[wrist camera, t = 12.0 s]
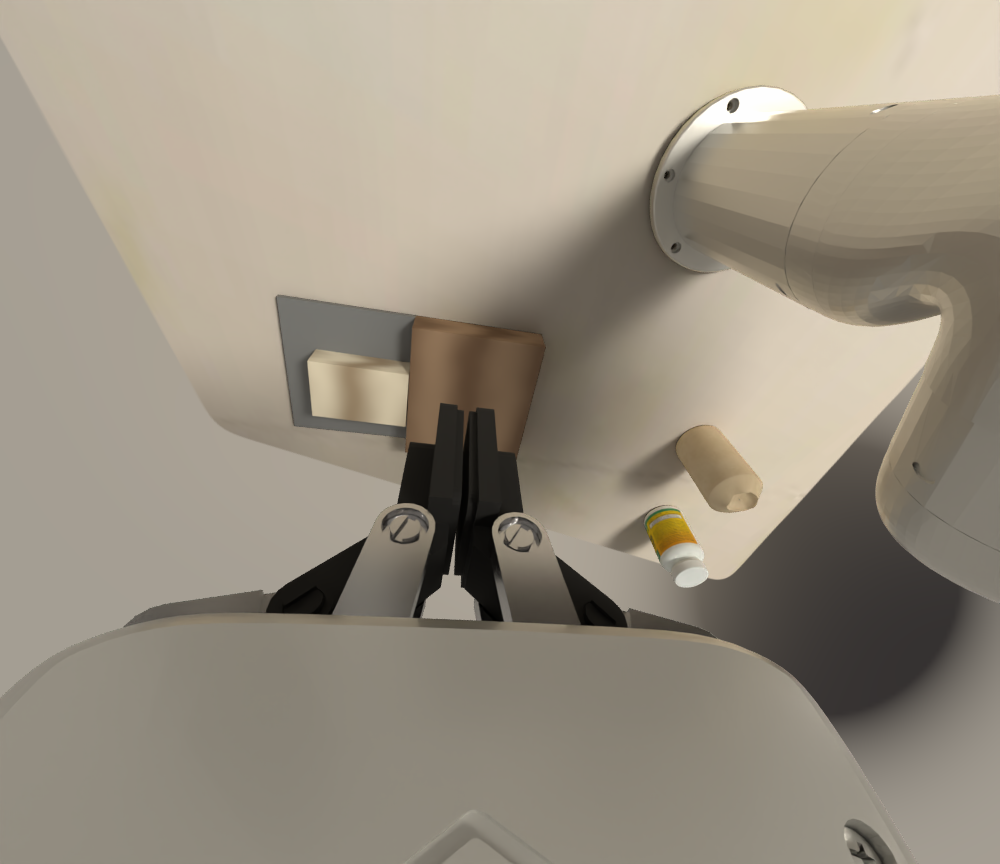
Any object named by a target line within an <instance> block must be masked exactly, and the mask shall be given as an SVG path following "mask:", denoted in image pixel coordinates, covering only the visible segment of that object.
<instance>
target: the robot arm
mask: <svg viewBox="0 0 1000 864" xmlns="http://www.w3.org/2000/svg"><path fill="white" fill-rule="evenodd" d="M728 102H729V103H730V107H729V109H728V110H727V104H728ZM666 171H667V172H668V176H667V177H666V178H665V179H664V174H665V172H666ZM650 220H651V227H652V230H653V233H654V236H655V239H656V241H657V243H658V244H659V246H660V248H661V249H662V251H663V252H664V253H665V254H666V255H667V256H668V257H669V258H670V259H671V260H673V261H674V262H676V263H677V264H679V265H680V266H683V267H685V268H687V269H689V270H693V271H698V272H703V273H704V272H720V271H724V270H729V269H733V270H735V271H737V272H739V273H741V274H743V275H745V276H747V277H749V278H751V279H753V280H755V281H757V282H758V283H760V284H762V285H764V286H766V287H768V288H770V289H772V290H774V291H776V292H778V293H780V294H782V295H784V296H786V297H787V298H789V299H791V300H793V301H795V302H797V303H799V304H801V305H803V306H805V307H807V308H809V309H812V310H814V311H816V312H818V313H820V314H822V315H823V316H826V317H828V318H831V319H833V320H836V321H838V322H842V323H846V324H850V325H856V326H871V327H879V326H890V325H897V324H903V323H909V322H914V321H918V320H922V319H926V318H929V317H933V316H937V315H940V314H941V324H940V328H939V333H938V336H937V338H936V341H935V343H934V345H933V348H932V350H931V352H930V355H929V357H928V359H927V361H926V364H925V366H924V372H923V374H922V376H921V378H920V381H919V383H918V385H917V387H916V389H915V391H914V393H913V396H912V398H911V400H910V402H909V404H908V406H907V408H906V410H905V413H904V415H903V417H902V419H901V421H900V423H899V425H898V427H897V429H896V432H895V434H894V436H893V438H892V440H891V443H890V446H889V448H888V451H887V453H886V455H885V457H884V459H883V462H882V465H881V468H880V470H879V474H878V477H877V482H876V503H877V508H878V511H879V514H880V517H881V519H882V521H883V523H884V524H885V526H886V527H887V529H888V530H889V532H890V533H891V534H892V536H893V537H894V538H895V539H896V541H898V543H899V544H900V545H901V546H902V547H904V548H905V549H906V550H907V551H908V552H909V553H910V554H912V555H913V556H914V557H915V558H917V559H918V560H919V561H920V562H922V563H923V564H925V565H926V566H927V567H929V568H931V569H932V570H934V571H935V572H937V573H939V574H940V575H942V576H943V577H945V578H947V579H949V580H950V581H952V582H954V583H956V584H958V585H960V586H962V587H964V588H966V589H968V590H970V591H972V592H974V593H976V594H978V595H981V596H983V597H985V598H987V599H990V600H992V601H994V602H997V603H999V604H1000V94H999V95H990V96H978V97H965V98H952V99H940V100H927V101H913V102H900V103H887V104H873V105H860V106H846V107H833V108H820V109H807V107H806V105H805V104H804V103H803V102H802V101H801V100H800V99H799V98H798V97H796V96H795V95H794V94H793V93H791V92H789V91H786V90H784V89H782V88H779V87H773V86H765V85H760V86H752V87H746V88H742V89H738V90H734V91H730V92H728V93H726V94H724V95H722V96H720V97H718V98H716V99H714V100H712V101H711V102H710V103H708V104H707V105H705V106H704V107H703V108H701V109H700V110H698V111H697V112H696V113H695V114H694V115H693V116H692V117H691V118H690V119H689V120H688V121H687V122H686V123H685V124H684V125H683V126H682V128H681V129H680V130H679V131H678V133H677V134H676V135H675V137H674V138H673V139H672V141H671V142H670V144H669V146H668V148H667V149H666V151H665V153H664V155H663V157H662V158H661V161H660V163H659V166H658V169H657V171H656V174H655V176H654V181H653V185H652V190H651V194H650ZM673 244H675V245H674V247H673V248H671V247H672V245H673ZM463 432H464V410H458V405H454V404H446V403H440V409H439V417H438V425H437V434H436V442H435V444H426V443H417V442H410V444H409V448H408V453H407V458H406V463H405V468H404V473H403V478H402V483H401V488H400V493H399V498H398V503H397V504H395V505H393V506H390V507H388V508H386V509H385V510H384V511H382V512H381V513H380V514H379V516H378V517H377V519H376V520H375V522H374V525H373V527H372V529H371V531H370V533H369V535H368V537H366V538H364V539H363V540H361V541H359V542H358V543H356V544H354V545H352V546H351V547H349V548H347V549H346V550H344V551H342V552H340V553H339V554H337V555H335V556H334V557H332V558H330V559H329V560H327V561H325V562H324V563H322V564H320V565H318V566H317V567H315V568H313V569H311V570H310V571H308V572H306V573H305V574H303V575H301V576H300V577H298V578H296V579H294V580H293V581H291V582H289V583H287V584H286V585H285V586H283V587H282V588H281V589H279V590H278V591H277V592H276V593H269V594H263V590H258V591H251V592H244V593H237V594H230V595H224V596H217V597H210V598H203V599H196V600H190V601H183V602H176V603H169V604H163V605H160V606H156V607H153V608H150V609H148V610H146V611H144V612H142V613H140V614H138V615H137V616H135V617H134V618H133V619H132V620H130V621H129V622H128V623H127V624H126V625H125V626H124V627H123V628H120V629H117V630H113V631H110V632H107V633H104V634H101V635H98V636H95V637H93V638H90V639H87V640H85V641H83V642H80V643H78V644H75V645H73V646H71V647H68V648H67V649H65V650H63V651H61V652H59V653H57V654H55V655H54V656H52V657H50V658H49V659H47V660H46V661H44V662H43V663H41V664H40V665H39V666H37V667H36V668H34V669H33V670H32V671H30V672H29V673H28V674H27V675H26V676H24V677H23V678H22V679H21V680H19V681H18V682H17V683H16V684H15V685H14V686H13V687H12V688H11V689H9V690H8V691H7V692H6V693H5V694H4V695H3V696H2V697H1V698H0V864H918V863H917V861H916V859H915V858H914V856H913V854H912V853H911V851H910V849H909V847H908V846H907V844H906V842H905V841H904V839H903V837H902V835H901V834H900V832H899V830H898V829H897V828H896V826H895V824H894V822H893V820H892V819H891V817H890V815H889V814H888V812H887V811H886V809H885V807H884V806H883V804H882V802H881V801H880V799H879V797H878V796H877V794H876V793H875V791H874V790H873V788H872V786H871V785H870V783H869V781H868V780H867V778H866V777H865V775H864V773H863V772H862V770H861V768H860V767H859V765H858V764H857V762H856V760H855V759H854V757H853V756H852V754H851V752H850V751H849V750H848V748H847V746H846V745H845V743H844V742H843V740H842V739H841V737H840V736H839V734H838V733H837V731H836V730H835V729H834V727H833V726H832V724H831V723H830V721H829V720H828V718H827V717H826V715H825V714H824V713H823V711H822V710H821V708H820V707H819V706H818V704H817V703H816V702H815V700H814V699H813V698H812V697H811V695H810V694H809V693H808V692H807V691H806V689H805V688H804V687H803V686H802V685H801V684H800V683H799V682H798V681H797V680H796V679H795V678H794V677H793V676H792V675H791V674H789V673H788V672H787V671H786V670H784V669H783V668H782V667H780V666H778V665H777V664H775V663H773V662H772V661H770V660H768V659H766V658H764V657H763V656H761V655H759V654H757V653H754V652H752V651H750V650H747V649H745V648H743V647H740V646H738V645H735V644H732V643H729V642H725V641H722V640H719V639H717V638H716V637H715V636H714V635H712V634H711V633H710V632H708V631H706V630H704V629H701V628H699V627H696V626H692V625H689V624H685V623H681V622H678V621H674V620H670V619H667V618H663V617H660V616H656V615H653V614H649V613H645V612H642V611H638V610H634V609H631V608H629V610H628V611H627V612H626V611H622V610H621V609H620V608H619V607H618V606H617V605H616V604H615V603H614V602H613V601H612V600H611V599H610V598H608V597H607V596H606V595H605V594H604V593H602V592H601V591H600V590H599V589H597V588H596V587H595V586H594V585H592V584H591V583H590V582H588V581H587V580H586V579H585V578H583V577H582V576H581V575H580V574H578V573H577V572H576V571H575V570H573V569H572V568H571V567H570V566H568V565H567V564H566V563H565V562H563V561H562V560H561V559H560V558H558V557H557V556H556V555H555V553H554V550H553V548H552V545H551V542H550V540H549V537H548V535H547V532H546V530H545V528H544V526H543V525H542V524H541V523H540V522H539V521H538V520H537V519H535V518H533V517H532V516H530V515H527V514H524V513H523V507H522V500H521V493H520V485H519V478H518V470H517V463H516V456H515V453H512V452H502V451H498V448H497V436H496V424H495V411H494V409H487V408H479V407H477V408H476V412H473V411H469V415H468V422H467V428H466V434H465V440H464V447H463ZM455 534H456V542H455V566H454V567H455V569H454V575H461V587H463V588H465V590H466V591H467V592H469V593H470V594H471V595H472V596H473V597H474V598H475V599H474V610H475V616H476V621H473V620H448V619H425V618H424V619H423V618H422V616H423V612H424V608H425V603H426V598H428V597H429V596H430V595H431V594H433V593H434V592H435V591H437V590H438V589H439V588H440V587H441V582H442V576H443V575H444V574H445V575H448V574H449V569H450V563H451V557H452V551H453V545H454V540H455Z"/></svg>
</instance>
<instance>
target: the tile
mask: <svg viewBox="0 0 1000 864" xmlns="http://www.w3.org/2000/svg"><path fill="white" fill-rule="evenodd" d="M307 363H308V374H309V385H310V395H311V406H312V416H319V417H327V418H336V419H344V420H352V421H361V422H369V423H378V424H386V425H394V426H403V427H405V426H406V422H407V412H408V394H409V376H410V363H409V362H402V361H395V360H388V359H381V358H374V357H367V356H360V355H353V354H346V353H339V352H332V351H326V350H319V349H316V350H315V351H314V352H313V354H312V355H311V357H310V358H309V359H308V361H307Z"/></svg>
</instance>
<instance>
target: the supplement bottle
mask: <svg viewBox="0 0 1000 864" xmlns="http://www.w3.org/2000/svg"><path fill="white" fill-rule="evenodd" d="M644 526H645V529H646V531H647V533H648V535H649V538H650V540H651V542H652V545H653V547H654V549H655V552H656V554H657V556H658V559H659V561H660V563H661V565H662V567H663V568H664V569H665V570H667V571H668V572H670V573H671V576H672V577H673V579H674V581H675V583H676V584H677V585H678V586H680V587H693V586H696V585H699V584H701V583H702V582H704V581H705V580H706V579H707V577H708V571H707V569H706V567H705V564H704V563H703V560H704V551H703V549H702V547H701V545H700V544H699V542H698V540H697V538H696V536H695V535H694V533H693V531H692V529H691V527H690V526H689V524H688V522H687V520H686V518H685V516H684V515H683V513H682V511H681V510H680V509H679V508H677V507H674V506H660V507H657V508H655V509H653V510H652V511H650V512H649V513H648V514H647V515H646V517H645V520H644Z"/></svg>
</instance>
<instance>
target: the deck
mask: <svg viewBox="0 0 1000 864" xmlns="http://www.w3.org/2000/svg"><path fill="white" fill-rule="evenodd" d="M545 348H546V347H545V344H544V341H543V338H542V335H541V334H535V333H529V332H522V331H516V330H509V329H502V328H496V327H489V326H482V325H476V324H469V323H463V322H456V321H449V320H443V319H436V318H429V317H423V316H416V317H415V320H414V324H413V327H412V340H411V358H410V376H409V394H408V412H407V430H406V448H405V452H408V448H409V444H410V442H417V443H426V444H435V442H436V434H437V425H438V417H439V409H440V403H446V404H454V405H458V410H464V432H463V447H464V440H465V434H466V428H467V422H468V415H469V411H473V412H476V408H477V407H479V408H487V409H494V411H495V424H496V436H497V448H498V451H502V452H512V453H515V456H516V459H517V455H518V451H519V447H520V444H521V440H522V436H523V432H524V428H525V425H526V421H527V417H528V413H529V409H530V405H531V402H532V398H533V394H534V390H535V386H536V382H537V379H538V375H539V371H540V367H541V363H542V360H543V356H544V352H545Z"/></svg>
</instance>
